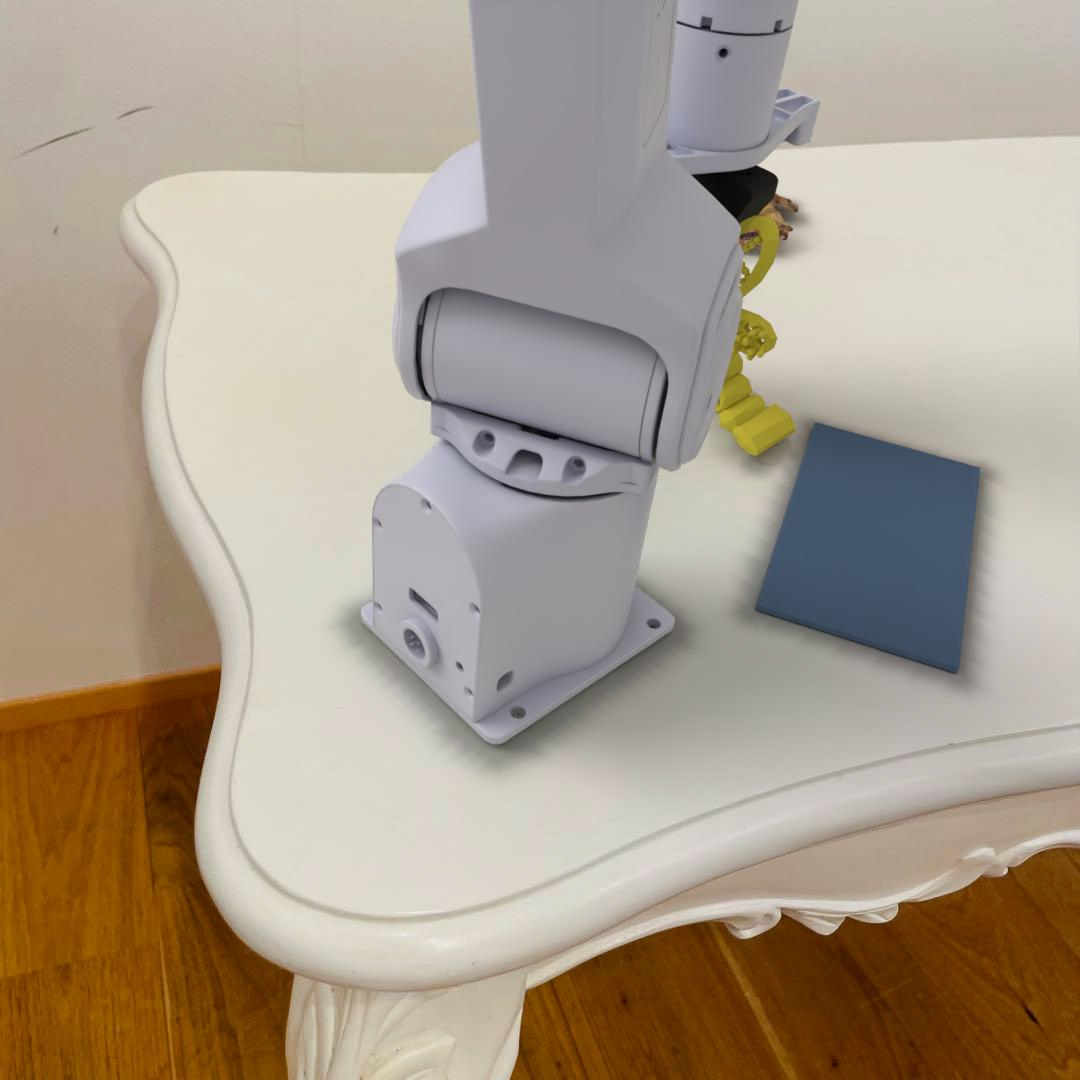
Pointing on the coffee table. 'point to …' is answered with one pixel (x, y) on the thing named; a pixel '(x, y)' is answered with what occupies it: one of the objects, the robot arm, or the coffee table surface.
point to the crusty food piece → (769, 211)
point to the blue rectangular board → (876, 546)
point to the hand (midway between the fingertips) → (663, 316)
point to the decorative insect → (735, 403)
